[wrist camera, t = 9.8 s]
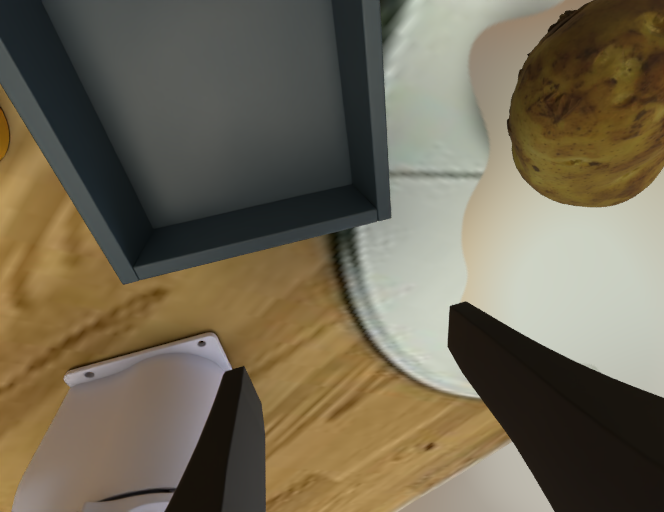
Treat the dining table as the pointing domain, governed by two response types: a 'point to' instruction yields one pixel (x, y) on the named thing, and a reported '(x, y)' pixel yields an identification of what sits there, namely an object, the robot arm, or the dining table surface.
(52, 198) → the dining table surface
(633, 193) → the potato
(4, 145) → the orange rounded piece
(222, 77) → the tote
